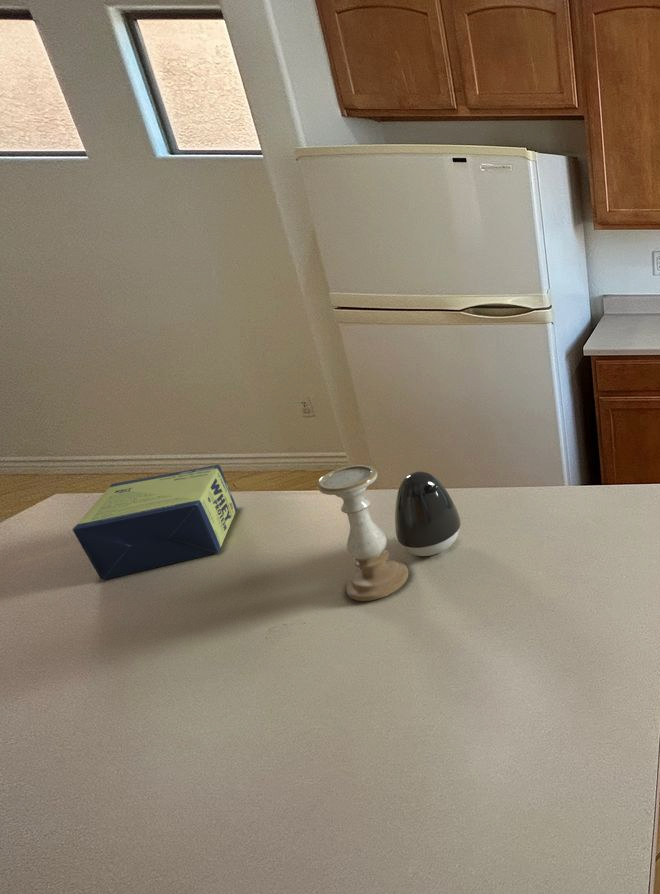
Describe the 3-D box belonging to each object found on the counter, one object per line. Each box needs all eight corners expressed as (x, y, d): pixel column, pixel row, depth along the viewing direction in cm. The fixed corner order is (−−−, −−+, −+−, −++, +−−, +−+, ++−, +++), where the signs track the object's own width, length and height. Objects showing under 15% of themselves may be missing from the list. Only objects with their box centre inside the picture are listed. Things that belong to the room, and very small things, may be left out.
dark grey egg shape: (424, 572, 93) (404, 496, 87) (389, 551, 98) (368, 478, 92) (476, 541, 101) (462, 469, 95) (442, 523, 106) (426, 453, 100)
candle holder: (338, 605, 86) (299, 494, 78) (360, 568, 94) (327, 464, 86) (399, 598, 88) (368, 489, 79) (415, 562, 95) (389, 460, 87)
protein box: (199, 503, 93) (220, 463, 105) (69, 529, 86) (109, 482, 98) (221, 553, 97) (239, 509, 109) (99, 582, 90) (133, 531, 102)
